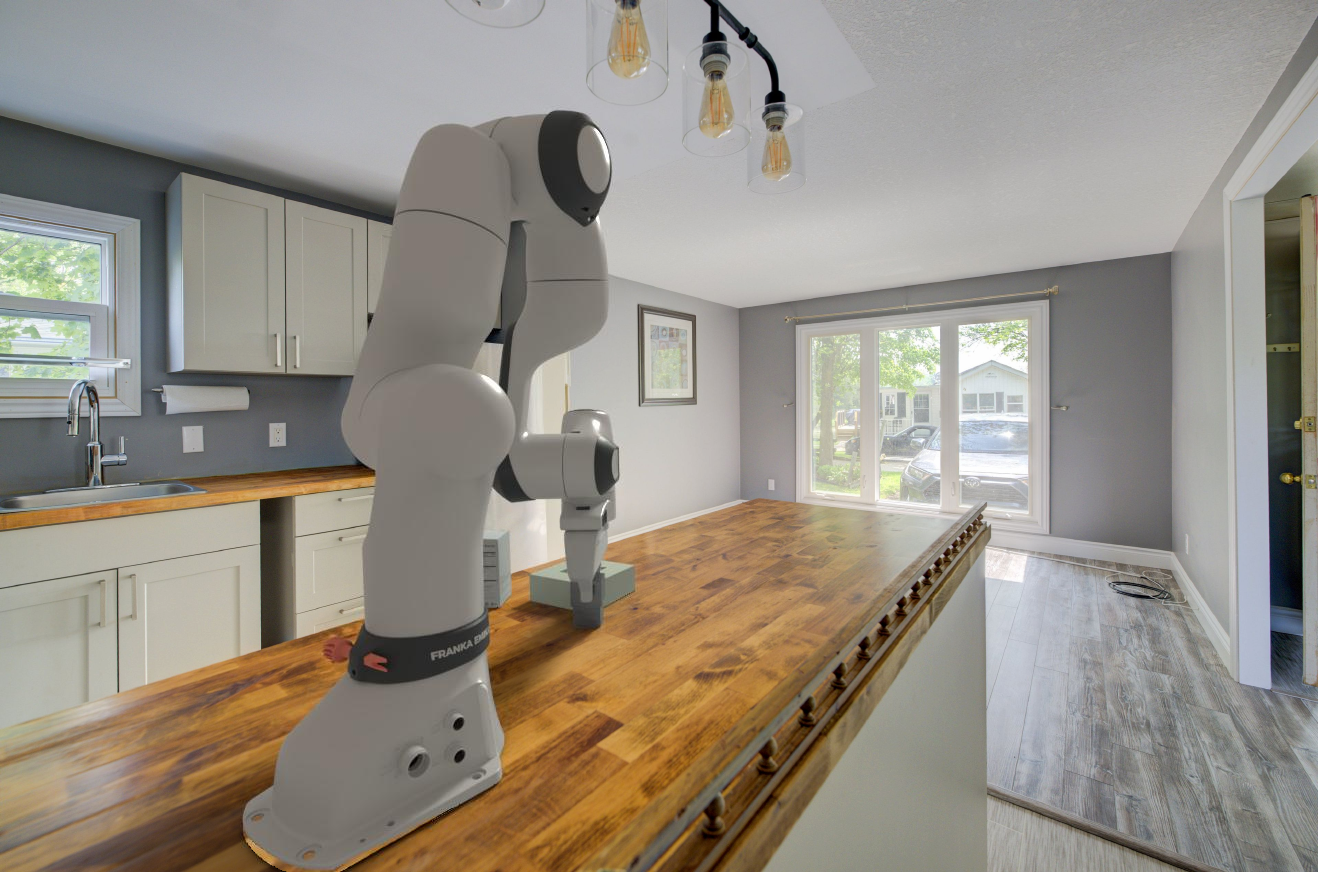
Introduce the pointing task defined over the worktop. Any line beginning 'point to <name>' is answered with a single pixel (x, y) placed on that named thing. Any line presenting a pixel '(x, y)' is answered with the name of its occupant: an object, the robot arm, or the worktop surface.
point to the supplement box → (496, 567)
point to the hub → (555, 581)
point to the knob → (588, 604)
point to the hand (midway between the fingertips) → (591, 591)
